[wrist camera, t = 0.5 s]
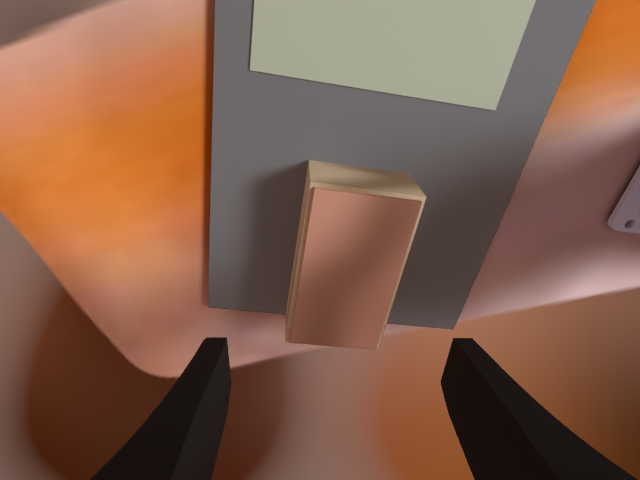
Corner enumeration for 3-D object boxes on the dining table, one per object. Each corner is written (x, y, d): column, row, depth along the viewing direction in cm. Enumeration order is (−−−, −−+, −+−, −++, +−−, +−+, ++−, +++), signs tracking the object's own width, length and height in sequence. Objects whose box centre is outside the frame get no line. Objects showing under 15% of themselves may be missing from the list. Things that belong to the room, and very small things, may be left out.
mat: (648, -139, 14) (659, -143, 14) (451, 325, 25) (454, 330, 24) (223, -250, 12) (220, -259, 12) (209, 302, 23) (207, 308, 22)
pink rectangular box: (410, 174, 19) (427, 198, 16) (369, 315, 23) (378, 352, 21) (308, 160, 18) (310, 183, 16) (286, 307, 23) (285, 345, 20)
